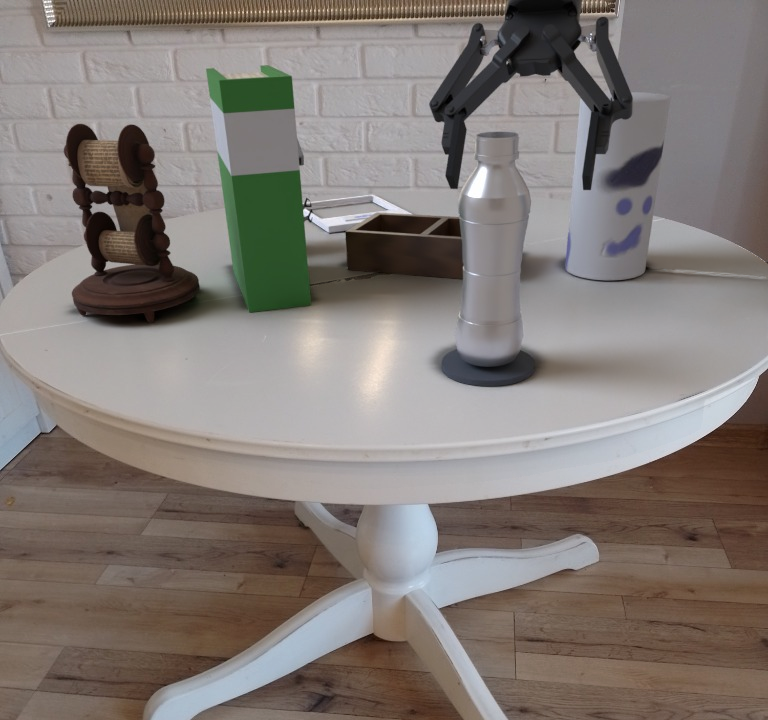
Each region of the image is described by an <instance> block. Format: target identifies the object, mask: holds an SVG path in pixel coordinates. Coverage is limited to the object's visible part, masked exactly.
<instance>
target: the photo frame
mask: <svg viewBox="0 0 768 720" xmlns="http://www.w3.org/2000/svg"><path fill="white" fill-rule="evenodd" d="M310 202H311V206H312V207H305V209H304V210H303V214H304V217H306V216H308V215H309V213H310V211H311V210H313V209H319V208H327V207H335V206H343V205H351V204H360V203H368V202H372V203H374V204H376V205H378V206H380V207H382V208H384V209H385V210H379V211H371V212H363V213H357V214H349V215H342V216H333V217H326V218H325V217H324V218H321V217H319V216H318V215H317V214H314V212H313V213H312V212H311V215H310V217H309V218H310V220H311V219H312V222H311V223H313V224H315V225H317V226H318V227H319V228H321V229H323V230H324V231H325V232H327V233H328V234H331V233H339V232H344V231H347V230H349V229H350V228H352V227H354V226H355V225H357V224H358V223H360V222H362V221H363V220H365V219H367V218H368V217H370V216H372V215H373V214H375V213H377V212H378V213H396V214H413V213H412V212H410V211H408V210H406V209H404V208H401V207H399V206H397V205H396V204H393V203H391V202H389V201H387V200H385V199H384V198H381V197H379V196H377V195H375V194H366V195H357V196H349V197H341V198H332V199H326V200H317V201H307V203H306V205H309V206H310ZM304 203H305V202H303V205H304ZM312 217H313V218H312Z"/></svg>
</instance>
